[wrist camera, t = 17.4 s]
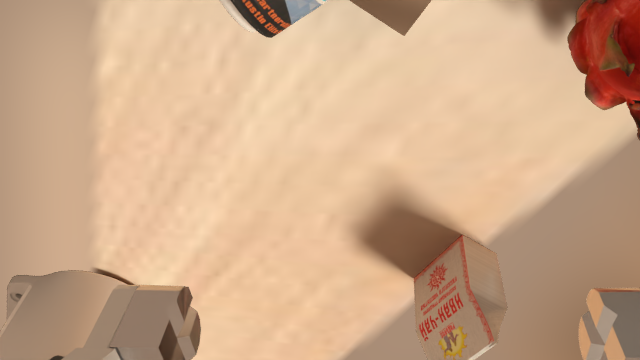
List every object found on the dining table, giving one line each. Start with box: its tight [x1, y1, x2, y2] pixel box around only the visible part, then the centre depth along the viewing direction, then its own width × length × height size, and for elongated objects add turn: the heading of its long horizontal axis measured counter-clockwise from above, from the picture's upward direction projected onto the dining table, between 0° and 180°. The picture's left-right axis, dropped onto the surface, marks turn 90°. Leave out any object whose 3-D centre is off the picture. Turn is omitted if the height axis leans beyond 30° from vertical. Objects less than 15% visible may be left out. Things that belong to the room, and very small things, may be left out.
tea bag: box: [414, 235, 507, 360], centre depth 45 cm, size 4×7×10 cm, turn 149°
